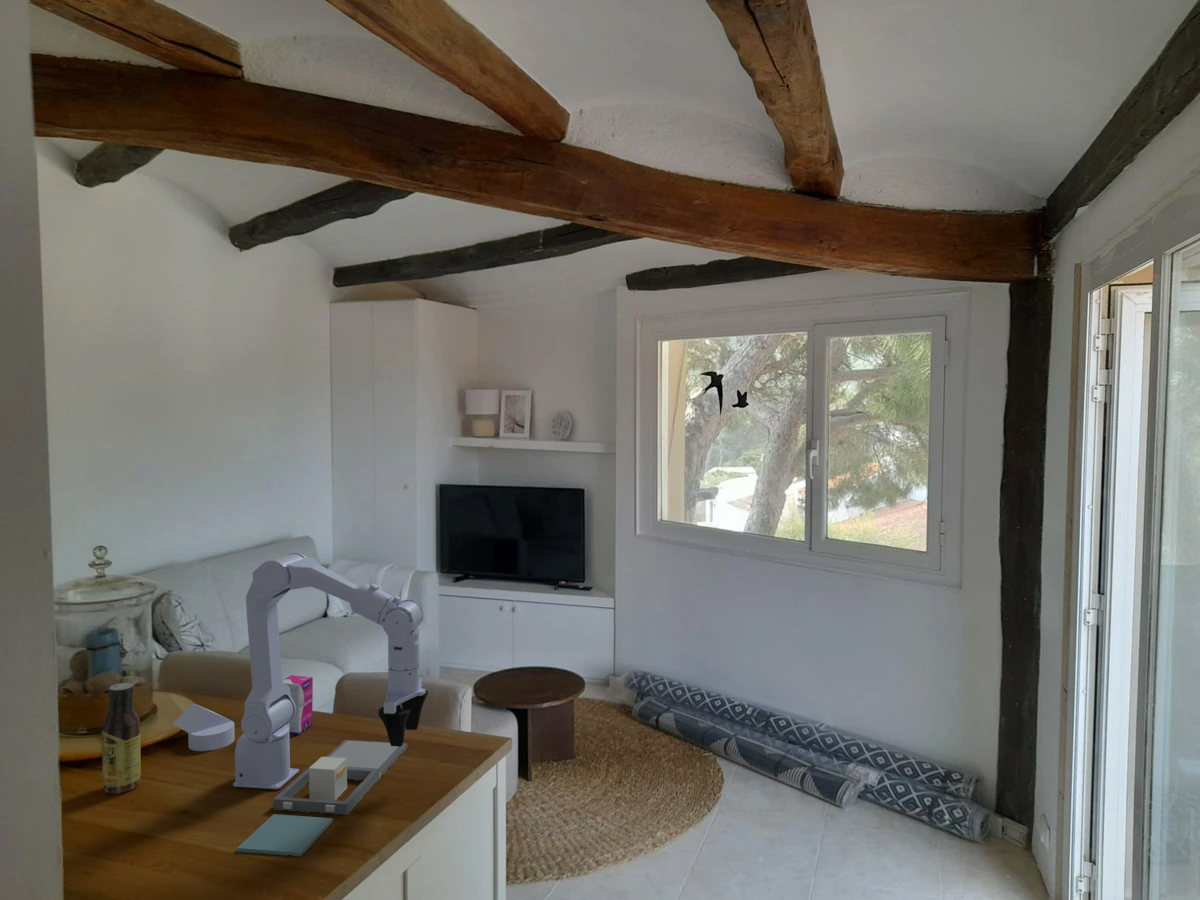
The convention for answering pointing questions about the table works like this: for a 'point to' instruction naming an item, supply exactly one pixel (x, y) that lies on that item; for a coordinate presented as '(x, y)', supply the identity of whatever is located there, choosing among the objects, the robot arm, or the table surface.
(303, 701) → the supplement box
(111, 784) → the sauce bottle
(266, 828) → the mat
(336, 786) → the block
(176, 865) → the table surface
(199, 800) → the table surface
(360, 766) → the case
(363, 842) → the table surface
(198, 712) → the wedge on round base
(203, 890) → the table surface
